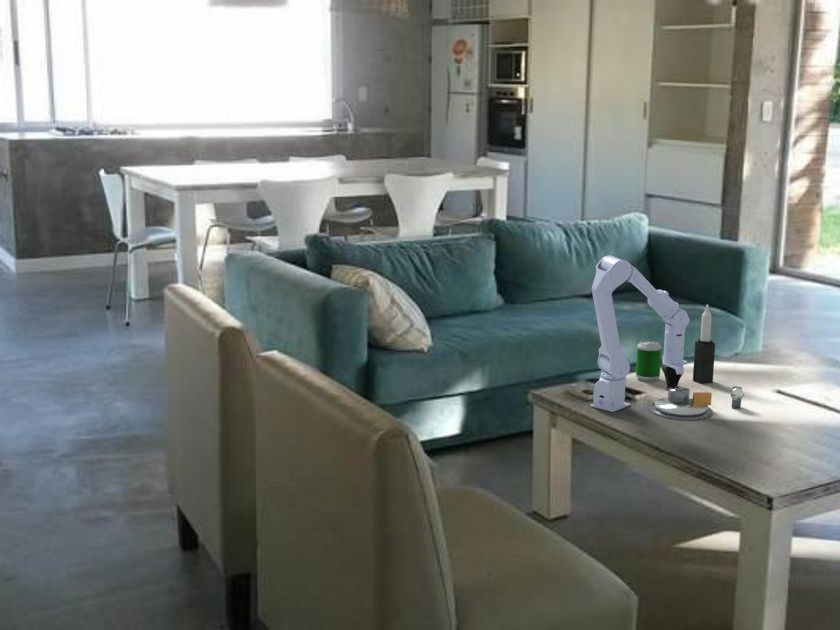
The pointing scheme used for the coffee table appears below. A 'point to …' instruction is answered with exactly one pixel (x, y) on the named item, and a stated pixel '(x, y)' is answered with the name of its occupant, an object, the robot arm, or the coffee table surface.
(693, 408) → the turntable
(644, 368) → the soda can
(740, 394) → the grey cube on chrome
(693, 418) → the turntable base
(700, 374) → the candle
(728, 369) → the coffee table surface
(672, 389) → the cover
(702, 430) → the coffee table surface
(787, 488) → the coffee table surface
